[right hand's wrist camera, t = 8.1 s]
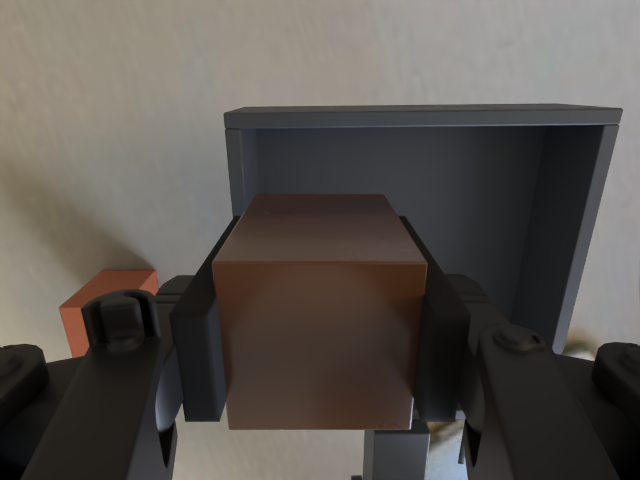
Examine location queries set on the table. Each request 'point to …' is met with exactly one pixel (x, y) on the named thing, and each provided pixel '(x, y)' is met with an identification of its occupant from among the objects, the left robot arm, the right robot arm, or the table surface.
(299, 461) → the table surface
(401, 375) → the walnut block
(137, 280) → the terracotta block
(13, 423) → the right robot arm
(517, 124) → the tote
